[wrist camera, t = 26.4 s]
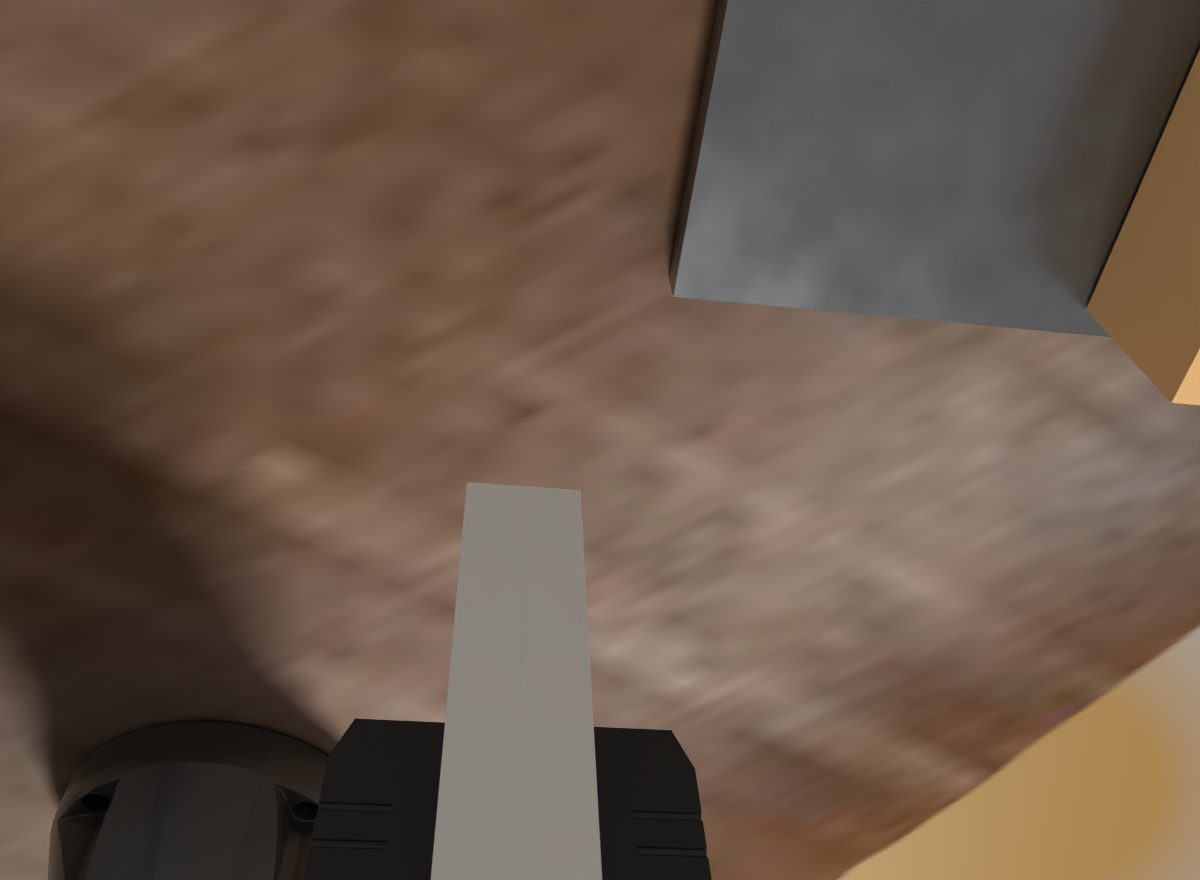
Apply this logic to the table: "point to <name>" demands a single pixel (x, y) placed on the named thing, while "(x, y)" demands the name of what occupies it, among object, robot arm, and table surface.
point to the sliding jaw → (1161, 261)
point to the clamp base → (926, 153)
